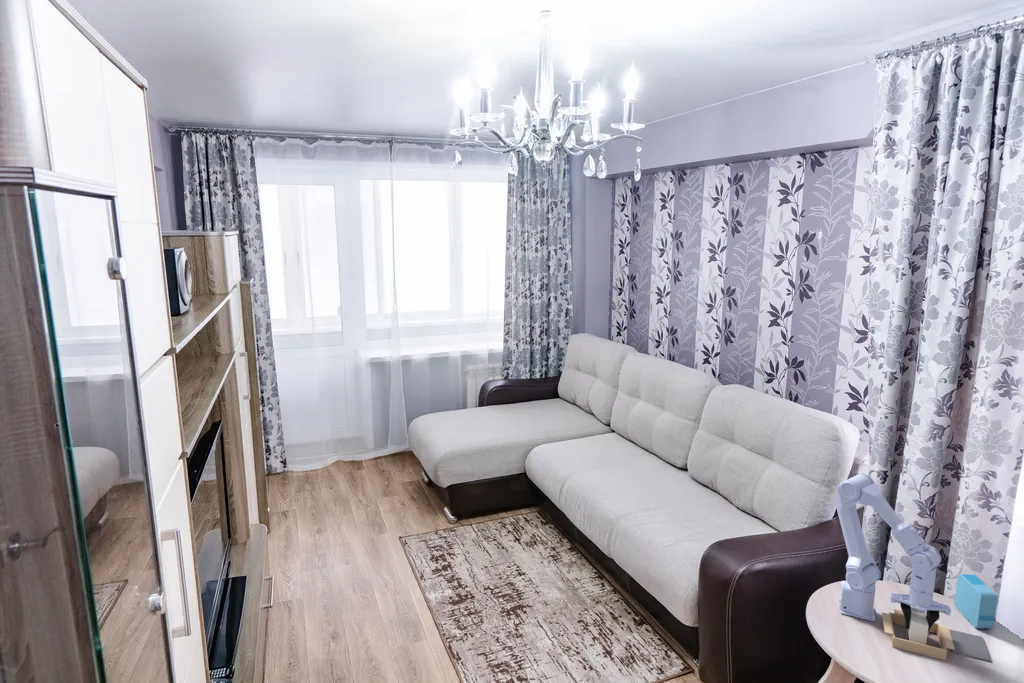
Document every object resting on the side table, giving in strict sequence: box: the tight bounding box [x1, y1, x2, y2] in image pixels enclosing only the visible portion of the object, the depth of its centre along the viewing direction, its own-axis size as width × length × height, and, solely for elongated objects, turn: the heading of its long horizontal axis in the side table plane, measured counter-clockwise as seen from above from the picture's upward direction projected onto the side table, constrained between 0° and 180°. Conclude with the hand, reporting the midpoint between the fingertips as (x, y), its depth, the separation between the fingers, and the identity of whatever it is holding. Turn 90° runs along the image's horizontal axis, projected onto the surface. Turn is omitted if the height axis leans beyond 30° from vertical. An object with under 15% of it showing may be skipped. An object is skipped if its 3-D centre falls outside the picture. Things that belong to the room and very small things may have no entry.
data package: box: [953, 573, 998, 630], centre depth 186 cm, size 12×4×12 cm, turn 173°
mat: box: [949, 629, 992, 663], centre depth 175 cm, size 9×11×1 cm
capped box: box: [907, 606, 929, 645], centre depth 177 cm, size 4×8×6 cm, turn 153°
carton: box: [881, 608, 955, 661], centre depth 178 cm, size 17×15×3 cm
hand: (916, 629), depth 177 cm, fingers closed on capped box, 4 cm apart
